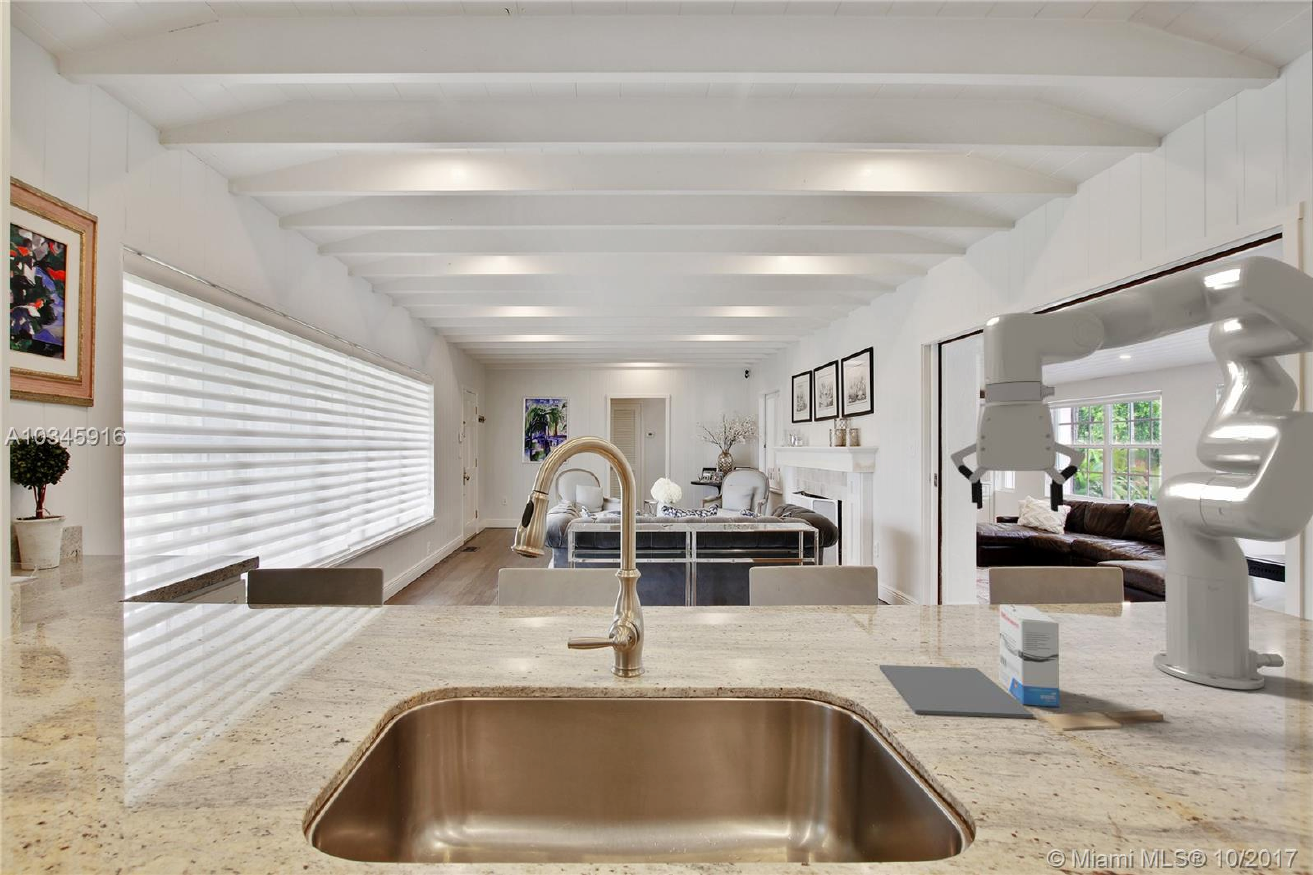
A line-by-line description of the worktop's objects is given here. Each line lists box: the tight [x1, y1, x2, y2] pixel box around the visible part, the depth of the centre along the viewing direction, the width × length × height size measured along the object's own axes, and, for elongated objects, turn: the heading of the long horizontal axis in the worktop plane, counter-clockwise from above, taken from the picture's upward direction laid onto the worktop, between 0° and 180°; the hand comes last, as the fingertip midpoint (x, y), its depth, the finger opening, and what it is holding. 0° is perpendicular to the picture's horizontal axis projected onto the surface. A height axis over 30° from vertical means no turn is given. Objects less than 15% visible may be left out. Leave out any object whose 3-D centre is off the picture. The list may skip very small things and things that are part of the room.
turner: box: [1041, 709, 1164, 731], centre depth 76 cm, size 15×4×1 cm, turn 95°
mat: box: [879, 664, 1034, 719], centre depth 85 cm, size 15×16×1 cm
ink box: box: [998, 604, 1060, 708], centre depth 84 cm, size 8×5×12 cm, turn 168°
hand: (1016, 509), depth 88 cm, fingers open, 9 cm apart
